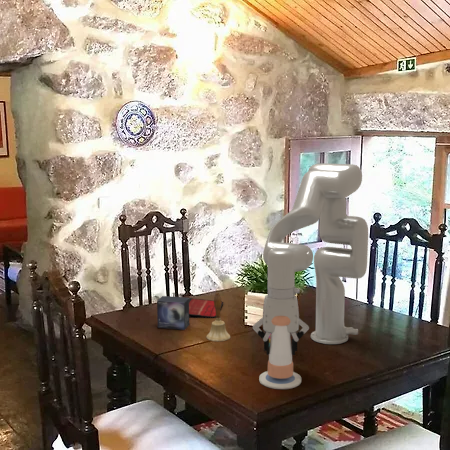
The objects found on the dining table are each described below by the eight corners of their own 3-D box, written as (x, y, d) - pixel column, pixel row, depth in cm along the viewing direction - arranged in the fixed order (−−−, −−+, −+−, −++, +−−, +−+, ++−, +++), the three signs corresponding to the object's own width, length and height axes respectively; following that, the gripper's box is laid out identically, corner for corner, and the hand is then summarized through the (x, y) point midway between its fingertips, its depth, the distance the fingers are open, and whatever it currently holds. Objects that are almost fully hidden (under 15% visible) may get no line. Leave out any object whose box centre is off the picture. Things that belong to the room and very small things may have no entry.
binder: (175, 312, 241) (185, 297, 261) (175, 318, 241) (185, 302, 262) (216, 315, 239) (224, 300, 259) (216, 321, 239) (224, 305, 260)
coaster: (299, 372, 187) (299, 369, 187) (302, 389, 176) (302, 386, 175) (259, 372, 188) (259, 369, 188) (259, 388, 176) (259, 385, 176)
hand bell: (227, 342, 214) (227, 296, 211) (203, 340, 215) (203, 295, 213) (232, 334, 222) (232, 289, 219) (209, 332, 223) (208, 288, 221)
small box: (156, 328, 228) (155, 300, 226) (162, 322, 234) (161, 295, 233) (184, 330, 226) (184, 302, 224) (190, 324, 232) (189, 297, 230)
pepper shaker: (273, 380, 177) (273, 314, 174) (264, 370, 184) (264, 306, 181) (297, 376, 179) (297, 311, 176) (287, 367, 186) (288, 304, 183)
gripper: (311, 289, 181) (310, 348, 184) (250, 288, 182) (250, 348, 185) (313, 296, 174) (312, 358, 176) (249, 296, 174) (249, 357, 177)
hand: (280, 352), depth 181 cm, fingers closed on pepper shaker, 6 cm apart
